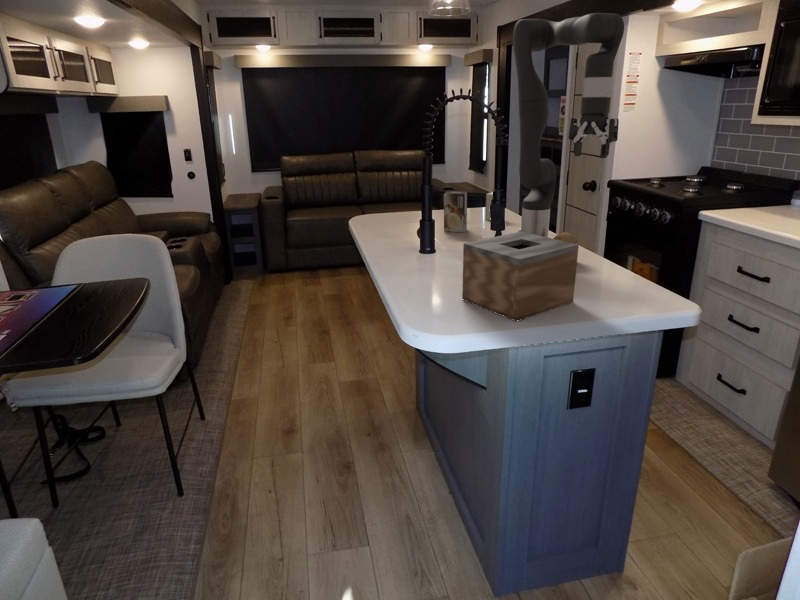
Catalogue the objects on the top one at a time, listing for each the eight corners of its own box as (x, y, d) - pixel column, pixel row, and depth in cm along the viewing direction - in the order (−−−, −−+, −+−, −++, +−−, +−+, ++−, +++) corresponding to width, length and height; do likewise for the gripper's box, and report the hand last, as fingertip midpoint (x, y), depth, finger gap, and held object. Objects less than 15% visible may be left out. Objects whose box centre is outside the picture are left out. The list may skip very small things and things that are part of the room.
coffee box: (467, 229, 231) (468, 191, 225) (464, 232, 225) (465, 194, 219) (446, 228, 233) (446, 191, 228) (443, 231, 228) (443, 193, 222)
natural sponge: (554, 256, 188) (556, 228, 185) (580, 259, 184) (583, 231, 180) (546, 263, 181) (548, 233, 177) (573, 266, 176) (576, 236, 173)
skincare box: (491, 217, 252) (492, 191, 248) (500, 218, 250) (501, 192, 246) (484, 220, 248) (485, 193, 244) (493, 221, 245) (494, 194, 241)
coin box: (462, 299, 149) (463, 243, 143) (517, 284, 161) (520, 231, 155) (516, 321, 133) (520, 259, 128) (572, 302, 145) (578, 244, 140)
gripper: (566, 96, 150) (561, 156, 155) (611, 95, 139) (604, 159, 144) (583, 96, 154) (577, 154, 159) (628, 95, 143) (620, 157, 148)
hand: (590, 157), depth 152 cm, fingers open, 8 cm apart
